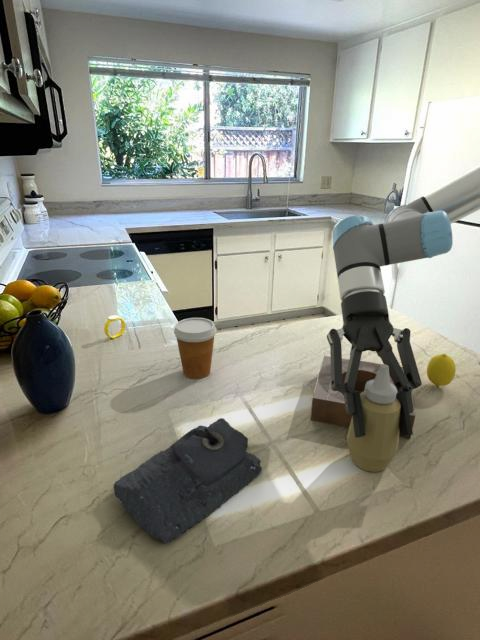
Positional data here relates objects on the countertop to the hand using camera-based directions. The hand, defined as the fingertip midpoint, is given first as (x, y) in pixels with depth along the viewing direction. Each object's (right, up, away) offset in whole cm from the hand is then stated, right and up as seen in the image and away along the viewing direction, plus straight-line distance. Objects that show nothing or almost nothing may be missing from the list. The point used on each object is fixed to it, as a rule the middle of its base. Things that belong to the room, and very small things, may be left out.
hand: (383, 435), depth 61 cm
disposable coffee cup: (-32, +5, +33) cm, 46 cm away
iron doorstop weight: (-30, -8, +2) cm, 31 cm away
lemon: (+22, +3, +28) cm, 36 cm away
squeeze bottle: (0, -6, +6) cm, 9 cm away
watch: (-56, +13, +51) cm, 77 cm away
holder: (+3, 0, +22) cm, 22 cm away
